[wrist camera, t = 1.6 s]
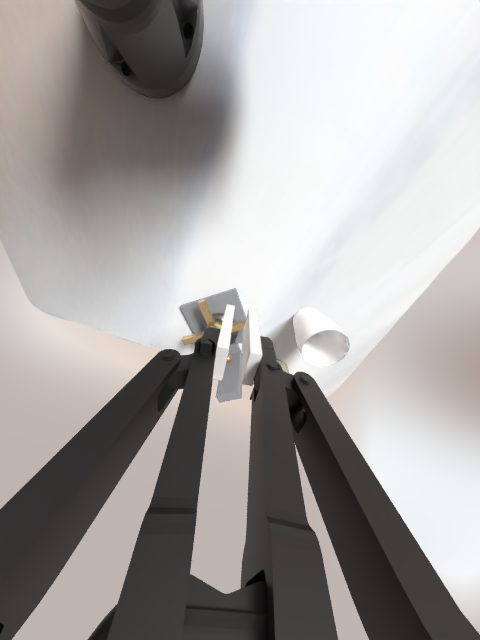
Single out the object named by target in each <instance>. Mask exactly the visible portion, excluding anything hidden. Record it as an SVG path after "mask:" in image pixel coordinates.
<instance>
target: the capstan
mask: <svg viewBox="0 0 480 640" xmlns="http://www.w3.org/2000/svg"><path fill="white" fill-rule="evenodd" d="M197 304H198V306H199V308H200V310H201V312H202V314H203V316H204V318H205V320H204V322H203V324H202V326H201V332H199V333H196V334H192V335H189V336H185V337H183V339H182V341H183V343H184V345H186V344H190V343H194V342H196V340H197V339H199V338H202V336H203V334H204V331H205V329H207V328H208V327H212V328H218V329H221V327H222V323H223V318H224V314H223V313H215V314H211V311H210V309H209V307H208V305H207V302H206V300H205V299H203V300H200V301H199V302H198V303H197ZM245 322H246V320H243V321H239V322H235V320H234V319H233V324H232V331H231V339H230V344H232V343H233V342H234V341H235V340H236V338H237V335H238V330H242V329H244V326H245ZM231 361H232V356H231V355H230V354H229V352H228V356H227V361H226V363H230V362H231Z"/></svg>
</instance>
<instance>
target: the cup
mask: <svg viewBox="0 0 480 640" xmlns="http://www.w3.org/2000/svg"><path fill="white" fill-rule="evenodd" d="M293 327H294V332H295V338H296V343H297V347H298V350H299V351H300V353H301V355H302V357H303V359H304V360H305V361H306V362H307V363H308V364H310V365H312V366H316V367H326V366H330V365H333V364H335V363H337V362H339V361H340V360H341V359H343V358H344V356H345V355H346V354H347V352H348V350H349V340H348V338H347V337H346V335H345V334H344V333H343V331H342V330H341V328H340V327H339V326H338V325H337V324H335V323H334V322H332V321H331V320H330V319H328V318H327V317H325V316H324V315H323V314H321V313H320V312H318V311H317V310H315V309H313V308H304V309H301V310H299V311H298V312H297V313H296V314H295V315H294V317H293Z"/></svg>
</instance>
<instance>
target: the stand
mask: <svg viewBox="0 0 480 640" xmlns="http://www.w3.org/2000/svg"><path fill="white" fill-rule="evenodd" d="M203 299H205V300H206V302H207V305H208V307H209V309H210V311H211V314H215V313H223V314H225V310H226V306H227V304H229V305H234V306H235V309H234V316H233V319H234V320H235V322H239V321H243V320H246V316H245V313H244V310H243V308H242V305H241V302H240V299H239V296H238V293H237V291H236V288H235V289H231V290H228V291H225V292H222V293H219V294H215V295H212V296H209V297H206V298H203ZM203 299H199V300H196V301H193V302H190V303H187V304H184V305H181V306H180V308H181V310H182V312H183V314H184V316H185V318H186V320H187V321H188V323H189V325H190V327H191V329H192V331H193V333H194V334H196V333H199V332H201V326H202V324H203V322H204V320H205V318H204V316H203V314H202V312H201V310H200V308H199V306H198V304H197V303H198V302H199V301H200V300H203ZM243 330H244V329H242V330H238V335H237V338H236V340H235V341H234V342H233V343H232V344H230V346H229V354H230V355H231V356H232V361H231V362H230V363H226V365H225V370H224V374H223V379H222V381H221V380H219V383H218V388H217V394H216V397H217V399H218V401H219V402H224V401H230V400H234V399H239V398H241V397H242V384H241V377H242V353H241V350H240V348H239V345H238V343H240V342H242V341H243Z"/></svg>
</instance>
